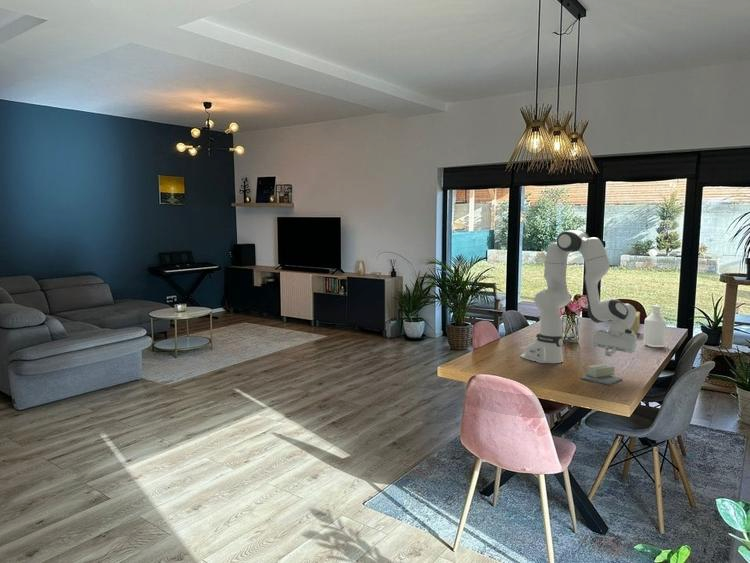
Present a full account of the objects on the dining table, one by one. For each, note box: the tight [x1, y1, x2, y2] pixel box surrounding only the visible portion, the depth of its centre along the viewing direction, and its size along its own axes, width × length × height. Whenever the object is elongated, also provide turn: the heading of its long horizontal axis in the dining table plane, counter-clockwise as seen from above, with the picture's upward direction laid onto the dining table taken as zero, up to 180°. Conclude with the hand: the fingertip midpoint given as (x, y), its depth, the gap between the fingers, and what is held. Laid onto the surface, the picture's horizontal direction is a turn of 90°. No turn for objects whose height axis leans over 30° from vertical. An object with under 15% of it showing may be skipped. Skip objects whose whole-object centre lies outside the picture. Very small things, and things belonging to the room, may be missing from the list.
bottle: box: [643, 304, 667, 345], centre depth 332 cm, size 12×12×25 cm
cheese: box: [630, 311, 641, 336], centre depth 367 cm, size 22×10×15 cm, turn 140°
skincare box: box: [585, 363, 615, 378], centre depth 261 cm, size 6×4×12 cm
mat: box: [580, 375, 624, 386], centre depth 256 cm, size 14×14×1 cm
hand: (607, 355), depth 259 cm, fingers closed
